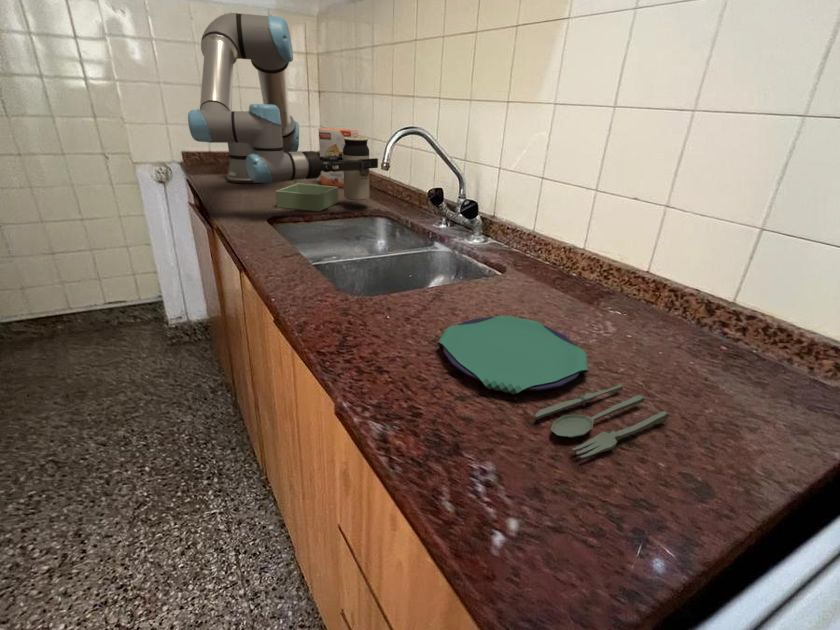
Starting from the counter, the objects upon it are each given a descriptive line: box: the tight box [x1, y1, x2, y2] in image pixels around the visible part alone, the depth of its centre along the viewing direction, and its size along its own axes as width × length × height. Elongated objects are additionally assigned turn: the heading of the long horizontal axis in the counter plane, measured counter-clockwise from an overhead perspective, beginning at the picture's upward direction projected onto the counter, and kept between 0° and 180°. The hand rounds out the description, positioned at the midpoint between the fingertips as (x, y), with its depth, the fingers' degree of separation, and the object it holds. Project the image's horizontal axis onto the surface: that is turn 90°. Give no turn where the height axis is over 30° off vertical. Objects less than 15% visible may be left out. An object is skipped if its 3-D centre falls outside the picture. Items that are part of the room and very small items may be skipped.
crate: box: [274, 182, 340, 212], centre depth 145 cm, size 15×15×5 cm
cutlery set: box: [437, 315, 670, 460], centre depth 60 cm, size 20×30×2 cm, turn 28°
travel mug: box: [343, 136, 371, 201], centre depth 139 cm, size 8×8×18 cm
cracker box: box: [318, 127, 359, 189], centre depth 171 cm, size 14×6×21 cm, turn 67°
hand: (369, 161), depth 141 cm, fingers closed on travel mug, 8 cm apart
